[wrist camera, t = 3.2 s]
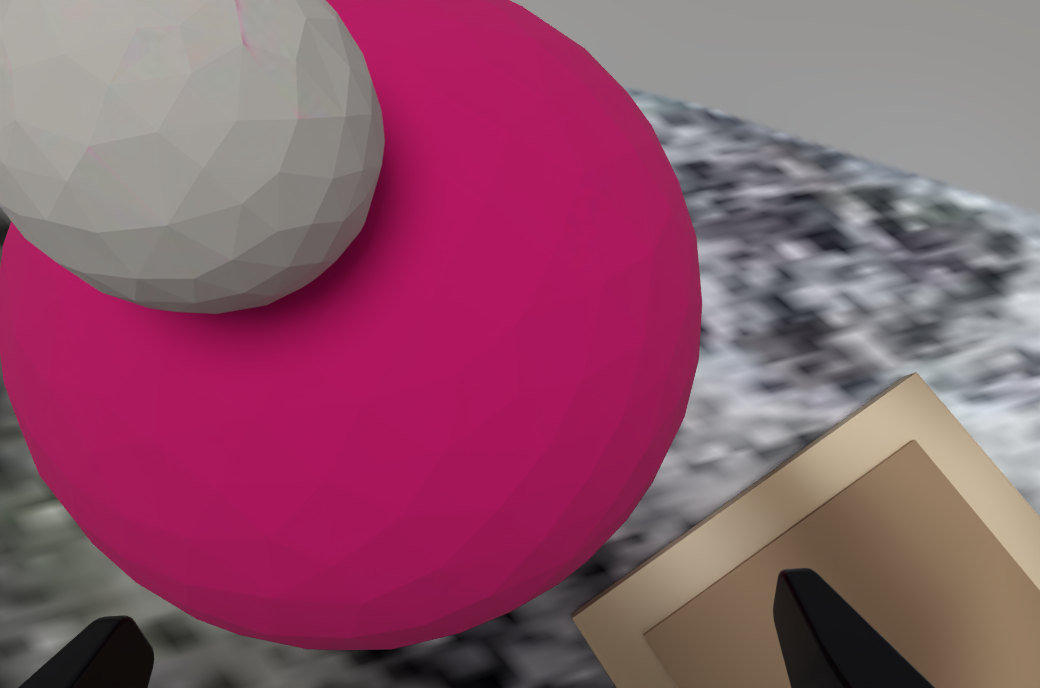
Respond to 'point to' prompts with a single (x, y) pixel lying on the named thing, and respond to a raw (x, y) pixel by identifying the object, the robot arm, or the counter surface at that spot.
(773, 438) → the counter surface
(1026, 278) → the counter surface
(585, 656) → the counter surface
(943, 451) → the beech tray
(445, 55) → the pepper mill
